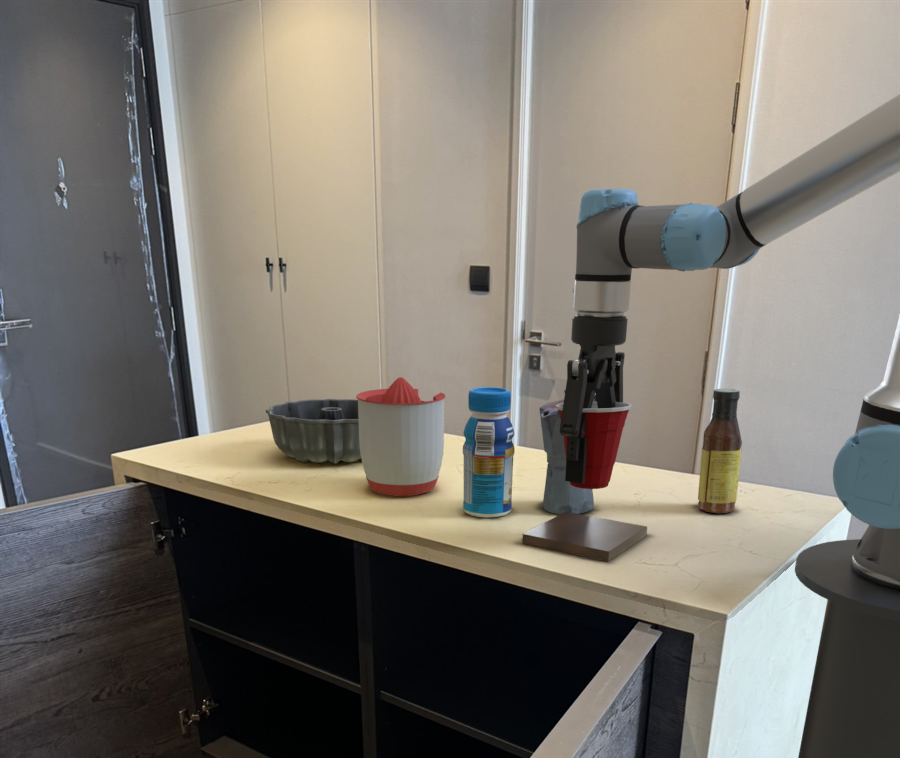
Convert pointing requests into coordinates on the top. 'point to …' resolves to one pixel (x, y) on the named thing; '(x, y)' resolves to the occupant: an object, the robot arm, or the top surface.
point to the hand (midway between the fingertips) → (589, 474)
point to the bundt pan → (317, 429)
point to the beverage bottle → (488, 453)
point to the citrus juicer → (401, 439)
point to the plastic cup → (600, 442)
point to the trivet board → (585, 535)
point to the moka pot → (560, 468)
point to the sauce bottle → (721, 455)
